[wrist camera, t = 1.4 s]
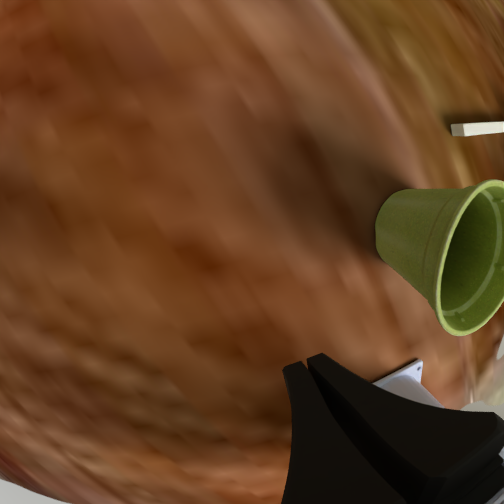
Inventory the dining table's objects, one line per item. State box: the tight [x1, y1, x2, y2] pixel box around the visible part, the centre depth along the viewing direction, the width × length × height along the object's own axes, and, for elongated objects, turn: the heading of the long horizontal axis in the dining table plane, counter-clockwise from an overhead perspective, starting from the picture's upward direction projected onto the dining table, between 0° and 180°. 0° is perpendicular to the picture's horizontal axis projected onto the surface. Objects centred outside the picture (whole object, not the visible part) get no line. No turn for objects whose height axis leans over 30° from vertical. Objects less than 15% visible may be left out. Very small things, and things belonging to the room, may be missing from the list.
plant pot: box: [375, 179, 504, 336], centre depth 18 cm, size 9×9×9 cm
